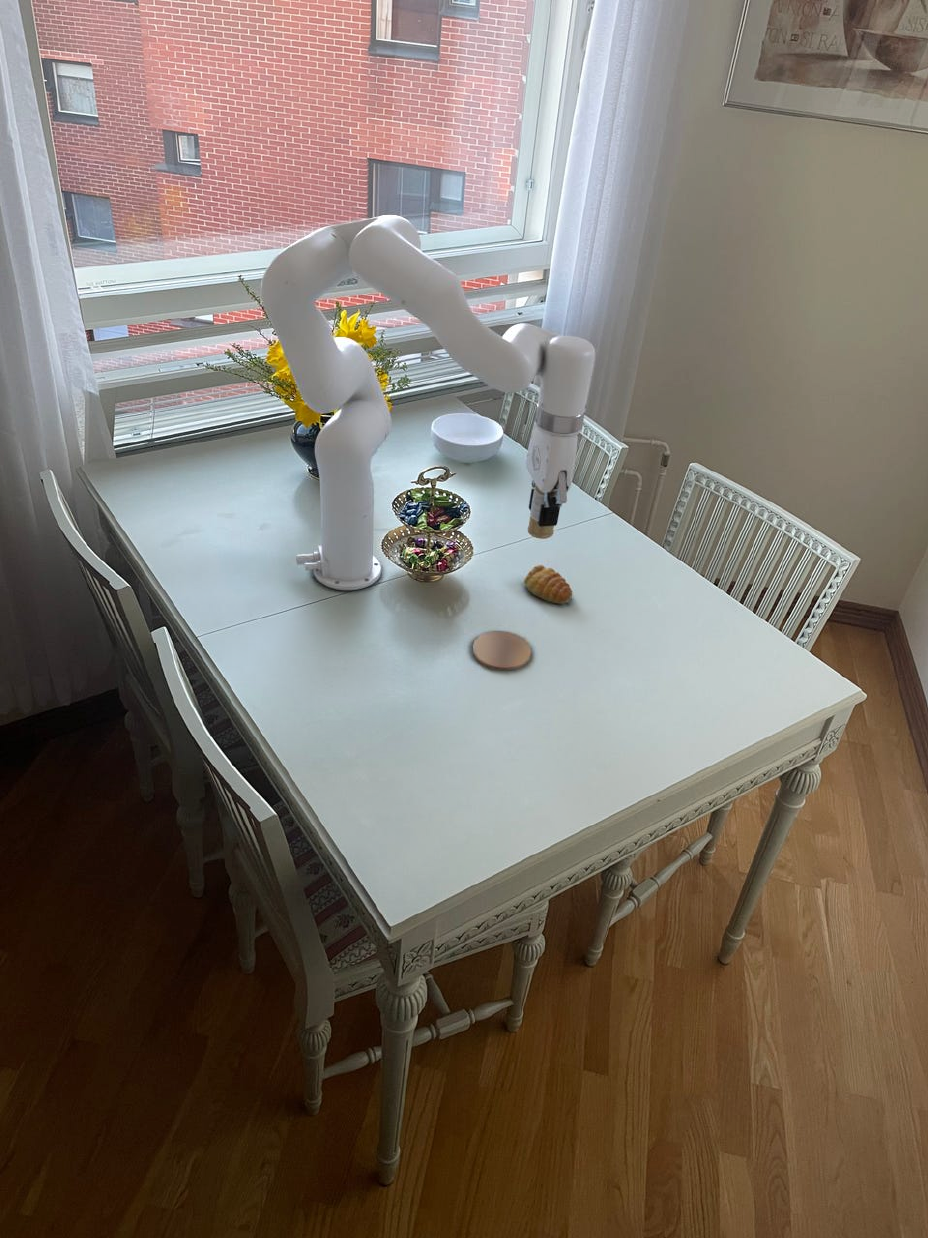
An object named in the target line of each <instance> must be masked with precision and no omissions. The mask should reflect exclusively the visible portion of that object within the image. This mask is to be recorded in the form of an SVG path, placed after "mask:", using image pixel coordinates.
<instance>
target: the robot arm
mask: <svg viewBox="0 0 928 1238" xmlns="http://www.w3.org/2000/svg"><path fill="white" fill-rule="evenodd" d="M421 244H422V242H421V237H420V234H419V232H418V230H417V229H416V228H415V225H413V224H412V223H411V222H410V221H409V220H408V219H406V218H404V217H402V216H399V215H395V214H386V215H380V216H375V217H371V218H365V219H360V220H359V219H358V220H354V221H349V222H343V223H337V224H333V225H328V226H324V227H321V228H318V229H316V230H314V231H312V232H311V233H309V234H307V235H306V236H304V237H302V238H300V239H298V240H296V241H295V242H293V243H291V244H290V245H289V246H286V248H284V249H283V250H282V251H281V252H279V253H278V254H277V255H276V256H275V257H274V258H273V259H272V261H271V262H270V263H269V264H268V265H267V267H266V269H265V271H264V273H263V275H262V279H261V283H260V296H261V302H262V305H263V309H264V311H265V313H266V316H267V318H268V320H269V322H270V325H271V326H272V328H273V330H274V332H275V335H276V337H277V339H278V342H279V344H280V347H281V350H282V352H283V355H284V358H285V361H287V365H288V367H289V370H290V372H291V375H292V377H293V379H294V383H295V385H296V387H297V389H298V392H299V395H300V397H301V398H302V400H303V402H304V403H305V405H306V406H307V407H308V408H309V409H310V410H311V411H314V412H315V413H318V414H329V413H333V412H334V411H336V410H337V412H336V413H334V415H332V416H331V417H330V418H329V419H328V420H327V421H326V423H325V424H324V425H323V426H322V428H321V429H320V431H318V434H317V436H316V439H315V442H314V443H315V444H314V458H315V460H316V465H317V466H316V467H317V471H318V480H319V499H320V535H321V537H320V538H321V541H320V542H321V545H317V547H318V548H317V551H313V553H303V554H300V553H299V554H296V555H295V557H296V558H295V559H296V560H295V561H296V565H297V566H300V565H304V571H313V574H314V578H316V580H317V581H318V582H319V583H320V584H322V585H324V586H326V587H327V588H329V589H333V590H338V591H339V590H340V591H356V590H361V589H365V588H368V587H369V586H371V585H373V584H375V583H376V582H377V581H378V580H379V578H380V576H381V574H382V565H381V563H380V561H379V559H378V558H376V557H375V556H374V527H375V526H374V521H375V519H374V518H375V485H374V484H375V483H374V479H373V474H372V470H371V466H372V465H371V463H372V460H373V458H374V456H375V455H376V454H377V452H378V451H379V449H380V448H381V447H382V446H383V445H384V444H385V442H386V441H387V440H388V437H389V435H391V430H392V416H391V413H390V409H389V406H388V402H387V400H386V397H385V394H384V392H383V389H382V385H381V383H380V380H379V378H378V375H377V373H376V369H375V367H374V364H373V362H372V359H371V357H370V356H369V354H368V353H367V352H366V350H365V349H364V348H363V347H362V346H361V345H360V344H359V343H358V342H357V341H356V340H353V339H351V338H348V337H343V336H337V337H334V335H333V332H332V329H331V326H330V324H329V321H328V319H327V318H326V316H325V315H324V314H323V312H322V311H321V309H320V308H319V307H318V306H317V305H316V301H317V300H319V298H320V297H322V296H323V295H325V294H326V293H328V292H330V291H331V290H333V289H334V288H336V287H337V286H338V285H339V284H341V283H342V282H344V281H346V280H350V279H351V280H352V279H355V278H358V279H359V280H360V281H362V282H363V283H364V284H365V285H367V286H369V287H370V288H372V289H373V290H375V291H376V292H378V293H379V294H380V295H382V296H383V297H385V298H386V299H388V300H390V301H391V302H392V303H394V304H395V305H397V306H398V307H399V308H401V309H403V310H404V311H405V312H407V313H409V314H410V315H412V316H413V317H414V318H416V319H417V320H419V321H420V322H421V323H423V324H424V325H425V326H427V327H428V328H429V330H430V331H431V333H432V334H433V337H434V338H435V339H436V341H437V342H438V344H440V346H441V347H442V348H443V349H444V351H445V352H446V353H447V355H449V357H450V358H451V359H452V360H453V361H454V362H455V363H456V364H457V365H458V366H460V368H462V369H463V370H464V371H466V372H467V373H469V374H470V375H472V376H473V377H474V378H476V379H478V380H479V381H481V382H482V383H483V384H485V385H487V386H488V387H491V388H492V389H494V390H496V391H499V392H501V393H506V394H516V393H519V392H522V391H523V390H525V389H526V388H528V387H529V386H530V385H531V383H532V382H533V380H534V379H535V378H536V377H537V376H539V377H540V385H539V392H538V397H537V398H538V399H537V404H536V411H535V417H534V423H533V427H532V430H531V435H530V439H529V444H528V448H527V454H526V459H525V468H526V470H527V472H528V475H530V477H531V479H532V480H531V490H530V496H529V502H528V509H529V511H531V506H532V499H533V493H534V488H535V484H536V485H537V487H538V488H539V489H540V491H541V492H543V493H544V504H541V509H540V515H539V521H538V525H539V526H540V527H543V526H554V527H556V526H557V525H558V520H559V517H560V516H559V515H560V510H561V507H562V506H563V504H567V502H568V498H567V497H568V495H567V494H568V492H569V491H570V489H571V487H572V483H573V479H574V473H575V468H576V467H575V466H576V459H577V452H578V450H577V449H578V437H579V436H578V435H579V434H581V433H582V429H583V425H584V420H585V414H586V408H587V403H588V397H589V392H590V386H591V383H592V377H593V371H594V366H595V362H596V361H595V360H596V349H595V347H594V345H593V344H592V343H591V341H588V340H587V339H584V338H582V337H579V336H574V335H562V334H558V333H555V332H552V331H550V330H547V329H545V328H543V327H541V326H537V325H535V324H531V323H525V322H523V323H517V324H514V325H512V326H510V327H509V328H508V329H507V330H506V331H505V333H504V334H503V335H502V336H501V335H500V334H498V333H497V332H496V331H494V330H493V329H491V328H490V327H489V326H487V325H486V324H485V323H483V321H481V320H480V318H479V317H478V316H476V314H475V313H474V312H473V310H472V309H471V307H470V305H469V304H468V303H469V302H468V300H467V298H466V295H465V290H464V287H463V284H462V281H461V278H459V276H458V275H457V274H456V273H454V272H453V271H452V270H450V269H448V268H447V267H445V266H444V265H443V264H441V263H439V262H438V261H436V260H435V259H434V258H432V257H430V256H429V255H428V254H426V253H425V252H423V251H422V250H421V249H422V245H421ZM555 485H556V487H554V486H555ZM550 493H557V495H556V496H555V497H551V498H550Z"/></svg>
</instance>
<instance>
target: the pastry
mask: <svg viewBox="0 0 928 1238" xmlns="http://www.w3.org/2000/svg"><path fill="white" fill-rule="evenodd" d="M523 584H524V585H525V587H526V589H527V590H528V591H529V592H531V593H532V594H533V595H534V596H536V597H539V598H541V599H542V600H545V601H547V602H550V603H553V604H560V605H562V604H565V603H567V602H569V601H570V600H571V598H572V597H573V590H572V588H571V587H570V584H569V583H568V582H567V581H566V579H565V578H564V577H563V576H562V575H561V574H560V572H557V571H555V570H554V568H552V567H549V568H548V567H547V568H546V567H545V566H544V565H543V564H539V565H535V566H534V567H532V569H531V570H529V571H528V573H527V574H526V576H525V578H524V580H523Z"/></svg>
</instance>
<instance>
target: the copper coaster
mask: <svg viewBox="0 0 928 1238" xmlns="http://www.w3.org/2000/svg"><path fill="white" fill-rule="evenodd" d="M472 653H473V656H474V657H475V659H476V660H477V661H478V662H479V663H480V664H482V665H484V666H485V667H487V668H490V669H493V670H498V671H513V670H518V669H519V668H522V667H524V666H525V665H526V664H527V663H528V662H529V661H530V659H531V657H532V656H531V655H532V649H531V646H530V644H529V643H528V641H526V640H525V639H524V638H523V637H521V636H520V635H518V634H516V633H513V632H510V631H505V630H504V631H503V630H494V631H488V632H485V633H482V634H481V635H479V636H478V637H477V638H476V639H475V640H474V642H473V645H472Z"/></svg>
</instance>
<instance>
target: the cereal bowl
mask: <svg viewBox="0 0 928 1238" xmlns="http://www.w3.org/2000/svg"><path fill="white" fill-rule="evenodd" d="M430 436H431V437H430V438H431V439H430V440H431V442H432V445H433V446H434V448H435V449H436V451H438V452H439V453H440V454H442V455H443V456H444V457H445V458H448V459H451V460H452V461H453V462H457V463H461V464H474V463H478V462H482V461H485V460H488V459H490V458H492V457H494V455H496V454H497V453H498V451H499V450H500V449H501V446H502V445H503V440H504V429H503V427H502V425H500V424H499V423H498V422H497V421H496V420H494V419H491V418H489V417H487V416H483V415H479V414H475V413H474V414H473V413H467V412H466V413H464V412H457V413H448V414H444V415H440V416H438V417H437V418H436V419H434V420H433V421H432V422H431V427H430Z"/></svg>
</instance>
